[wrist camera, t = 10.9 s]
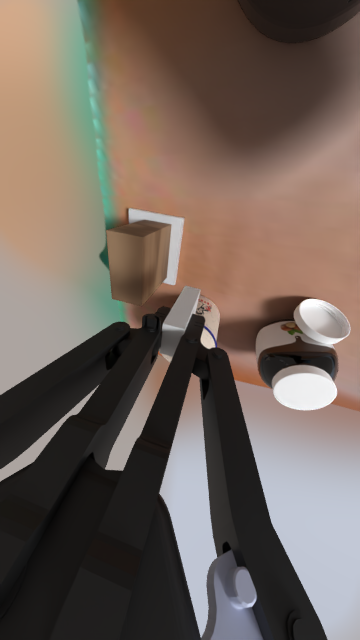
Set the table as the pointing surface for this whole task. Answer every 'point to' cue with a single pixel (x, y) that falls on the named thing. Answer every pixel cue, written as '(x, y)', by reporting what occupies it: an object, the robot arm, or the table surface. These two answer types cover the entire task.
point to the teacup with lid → (206, 323)
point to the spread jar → (302, 355)
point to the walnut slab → (138, 259)
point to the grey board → (175, 237)
